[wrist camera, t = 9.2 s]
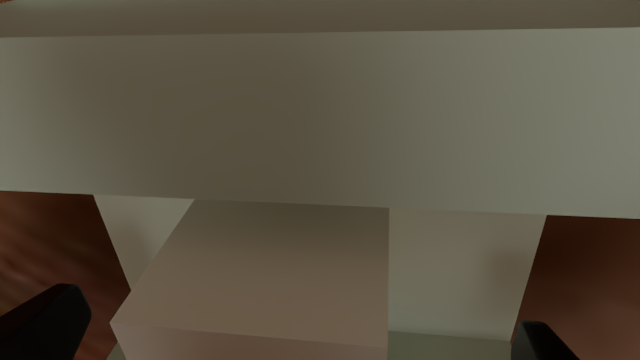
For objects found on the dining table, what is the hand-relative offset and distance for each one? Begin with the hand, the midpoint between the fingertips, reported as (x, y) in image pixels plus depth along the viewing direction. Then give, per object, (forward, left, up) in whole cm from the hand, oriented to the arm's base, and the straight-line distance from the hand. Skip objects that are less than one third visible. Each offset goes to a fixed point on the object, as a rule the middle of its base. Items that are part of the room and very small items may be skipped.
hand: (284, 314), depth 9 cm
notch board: (0, 0, -4) cm, 4 cm away
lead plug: (0, 0, -2) cm, 3 cm away
